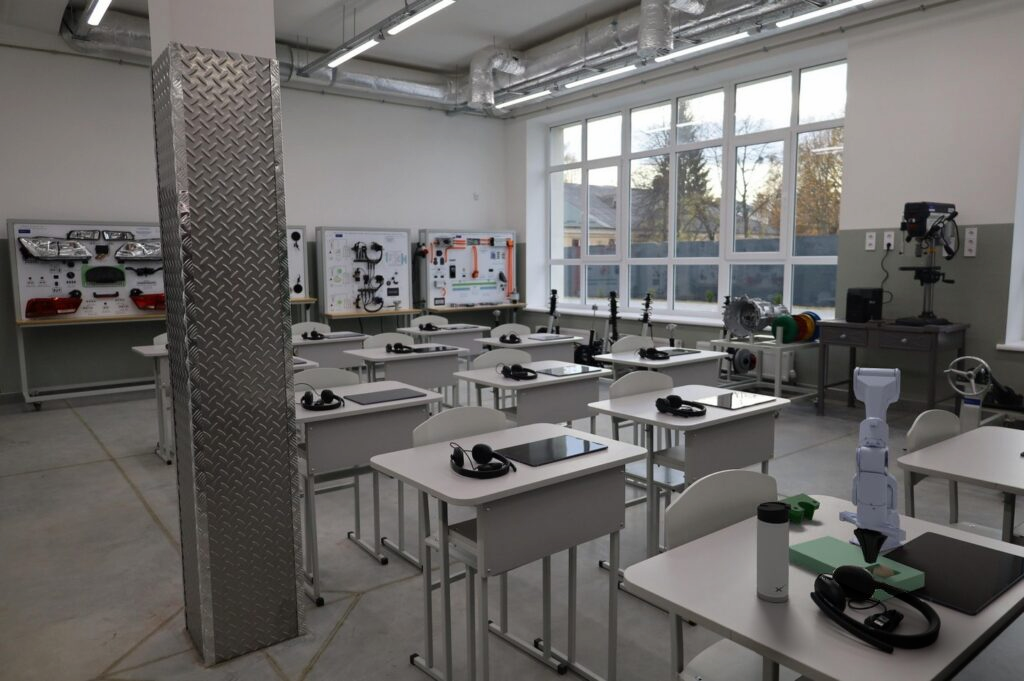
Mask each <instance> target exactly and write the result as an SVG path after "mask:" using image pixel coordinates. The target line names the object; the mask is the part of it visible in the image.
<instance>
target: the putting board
mask: <svg viewBox="0 0 1024 681" xmlns="http://www.w3.org/2000/svg"><path fill="white" fill-rule="evenodd" d="M789 562H792V563H794V564H797V565H798V566H799V565H800V566H801V567H803V568H805V569H808V570H810V571H812V572H815V573H817V574H819V575H821V574H823V573H829V574H833V571H834V570H835V569H836V568H837V567H839V566H841V565H856V566H860V567H863V568H865V569H867V570H868V571H870V572H871V574H872V575H873V576H874V577H875V578H876V579H877V580H879V581H881V582H884V583H886V584H888V585H891V586H894V587H898V588H902V589H905V590H908V591H909V592H911V591H912V592H913V591H916V590H917V589H921V588H923V587H925V580H926V578H925V573H926V572H924V571H921V570H918V569H915V568H913V567H911V566H907V565H905V564H903V563H901V562H897V561H895V560H892V559H890V558H887V557H884V556H882V555H879V554H878V558H877V561H876V563H873V564H869V563H866V562H865V560H864V556H863V552H862V549H861V547H860V546H857V545H855V544H852V543H850V542H849V543H848V542H845V541H843V540H842V539H838V538H835V537H833V536H830V535H826V536H823V537H819V538H814V539H811V540H807V541H804V542H801V543H797V544H792V545H789ZM879 565H886V566H888V567H890V568H891V569H892V570H893V572H894V576H891V577H888V578H885V579H884V578H881V577H879V576H877V575H874V574H873V571H874V569H875V567H877V566H879ZM874 598H875V599H874ZM891 598H893V597H892V596H891V595H890V594H888V593H887V592H885V591H884V590H882V589H877V590H876V591H875V592H874V595H873V598H872V599H874V600H876V599H877V600H876V601H878V600H880V601H879V602H883V601H885V600H888V599H891Z"/></svg>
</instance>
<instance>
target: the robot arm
mask: <svg viewBox="0 0 1024 681" xmlns="http://www.w3.org/2000/svg"><path fill="white" fill-rule="evenodd" d="M853 392H854V396H855V397H856V400H859V401H861V402H863V403H864V405H865V419H863V420H862V421H861V422H860V423H859V434H858V435H859V436H858V447H856V448H855V456H854V459H855V460H854V465H855V466H854V467H855V471H856V472H855V473H854V475H853V476H852V483H851V486H852V487H851V503H852V504H853V506H854V507H856V513H855V512H851V511H847V510H842V511H839V514H838V515H839V516H838V517H839V518H838V520H839V521H840V522H843V523H844V522H847V523H849V524H852V525H855V527H856V528H855V529H853V535H854V536H855V537H854V538H850V539H849V540H848V542H849V543H850V544H853V545H856V546H858V547H860V548H861V549H862V552H863V556H864V560H865V562H866V563H869V564H873V563H876V561H877V558H878V555H879V554H880V552H883V551H888V550H891V549H894V548H898V547H901V546H903V544H904V543H903V542H904V541H906V540H907V531H906V530H904V529H902V528H901V519H900V516H899V514H898V512H897V509H898V489H899V488H898V480H897V479H896V477H895V476H894V475H893V474H891V473H890V470H891V469H890V468H891V452H890V447H889V446H890V445H889V434H890V432H889V430H890V429H889V425H888V423H887V410H888V408H889V406H890V404H892V403H896V402H898V400H899V398H900V394H901V369H899V368H873V367H871V368H870V367H859V366H856V367H855V368H854V370H853ZM886 468H887V470H886Z"/></svg>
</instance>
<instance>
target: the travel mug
mask: <svg viewBox="0 0 1024 681" xmlns="http://www.w3.org/2000/svg"><path fill="white" fill-rule="evenodd" d="M790 509H791V505H790V504H786V503H783V502H778V501H765V502H762V503H760V504H759V505H758V506H757V507H756V511H757V512H756V513H757V514H756V515H757V516H756V595H757V597H759V598H760V600H764V601H766V602H769V603H783V602H786V601H788V599H789V596H790V595H789V589H790V588H789V587H790V586H789V584H790V583H789V582H790V579H789V578H790V574H789V573H790V572H789V569H790V567H789V566H790V560H789V546H790V519H789V510H790Z"/></svg>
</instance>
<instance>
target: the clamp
mask: <svg viewBox="0 0 1024 681" xmlns="http://www.w3.org/2000/svg"><path fill="white" fill-rule="evenodd" d="M777 502H783V503H786V504H790V505H791V509H790V510H789V520H790V521H792V522H794V523H795V524H797V525H802V521H803V518H804V519H807V520H809V521H813V518H814V515H815V512H816V510H819V509H820V504H821V502H819V501H818V500H817V499H814V498H813V497H811V496H809V495H808V494H805V493H804V492H803V493H800V494H796V495H793V496H789V497H786V498H783V499H780V500H777Z"/></svg>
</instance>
